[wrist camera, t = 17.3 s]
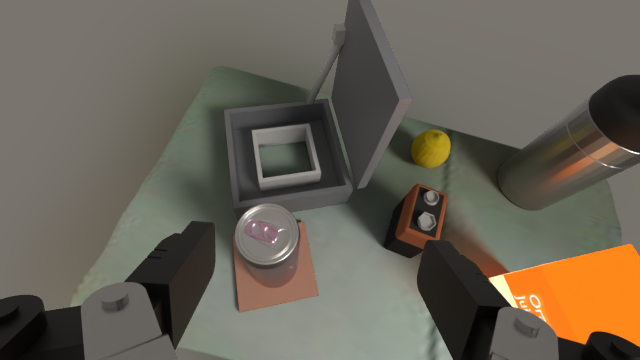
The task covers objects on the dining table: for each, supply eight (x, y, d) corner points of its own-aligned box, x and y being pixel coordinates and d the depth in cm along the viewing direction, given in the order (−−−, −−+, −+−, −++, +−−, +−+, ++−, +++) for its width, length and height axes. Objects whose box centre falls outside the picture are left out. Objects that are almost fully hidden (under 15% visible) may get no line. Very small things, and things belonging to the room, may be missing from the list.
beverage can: (262, 236, 42) (249, 192, 28) (303, 251, 41) (310, 213, 28) (244, 279, 39) (220, 253, 26) (287, 295, 39) (286, 277, 25)
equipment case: (334, 116, 53) (362, -20, 32) (358, 200, 46) (412, 98, 26) (229, 128, 50) (186, -13, 29) (239, 221, 43) (192, 123, 22)
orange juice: (511, 272, 43) (666, 233, 25) (543, 340, 40) (751, 350, 22) (462, 284, 42) (590, 251, 24) (491, 356, 38) (667, 380, 20)
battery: (382, 248, 43) (405, 227, 34) (394, 207, 46) (419, 178, 37) (411, 260, 43) (443, 242, 34) (421, 218, 46) (453, 191, 37)
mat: (303, 223, 44) (304, 221, 43) (317, 295, 40) (318, 294, 39) (233, 235, 42) (232, 234, 41) (240, 312, 38) (239, 312, 37)
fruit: (439, 176, 49) (465, 151, 42) (406, 176, 49) (426, 150, 42) (433, 147, 52) (456, 118, 45) (401, 147, 51) (419, 117, 44)
